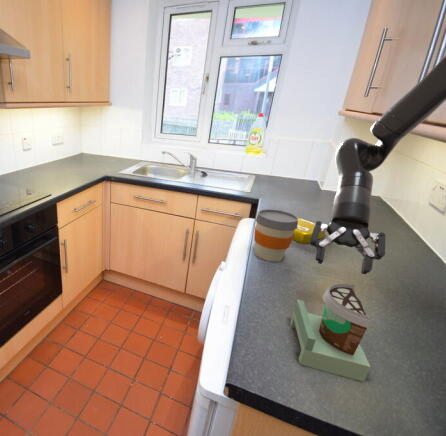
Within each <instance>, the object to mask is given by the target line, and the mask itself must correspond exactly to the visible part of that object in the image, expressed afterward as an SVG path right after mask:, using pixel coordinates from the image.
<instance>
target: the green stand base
mask: <svg viewBox="0 0 446 436" xmlns="http://www.w3.org/2000/svg"><path fill="white" fill-rule="evenodd" d="M321 319H322V315H319V314H313V313H309V312H308V311H307V307H306V304H305V301H304V300H301V299H297V300H296V303H295V306H294V309H293V313H292V317H291V320H290V324H289V325H290V328H293V329H295V330H296V333H297V337H298V342H299V346H300V349H301V350H300V353H299V356H298V363H299V365H300V366H304V367H308V368H311V369H314V370H315V369H316V370H319V371H323V372H326V373H330V374H333V375H336V376H340V377H344V378H348V379H351V380H355V381H359V382H363V383H364V382H365V380H366V378H367V377H368V374H369V372H370V369H371V368H372V367H371V364H370V362H369V360H368V358H367V356H366V354H365V352H364V350H363V348H362V346H361V343H359V345H358V347H357V349H356V351H355V353H354V355H350V354H347V353H344V352H342V351H340V350H338V349H336V348H334V347H333V346H331V345H330V344H329V343H327V342H326V341H325V340H324V339H323V338H322V336H321V335H320V332H319V328H320V324H321Z"/></svg>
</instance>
